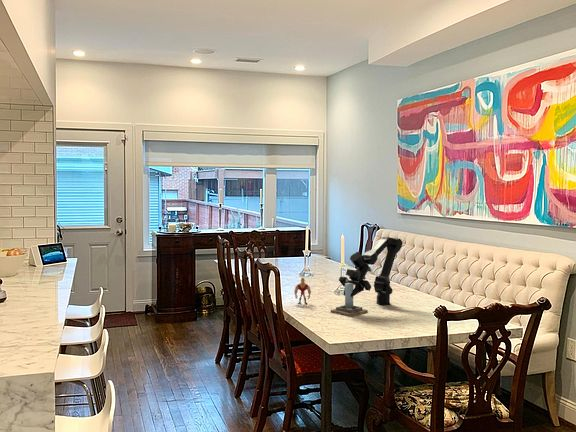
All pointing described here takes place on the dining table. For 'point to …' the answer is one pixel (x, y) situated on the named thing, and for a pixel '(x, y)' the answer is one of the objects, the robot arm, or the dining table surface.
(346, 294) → the pale blue cylinder
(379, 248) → the robot arm
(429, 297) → the dining table surface
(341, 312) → the cradle board
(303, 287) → the action figure
